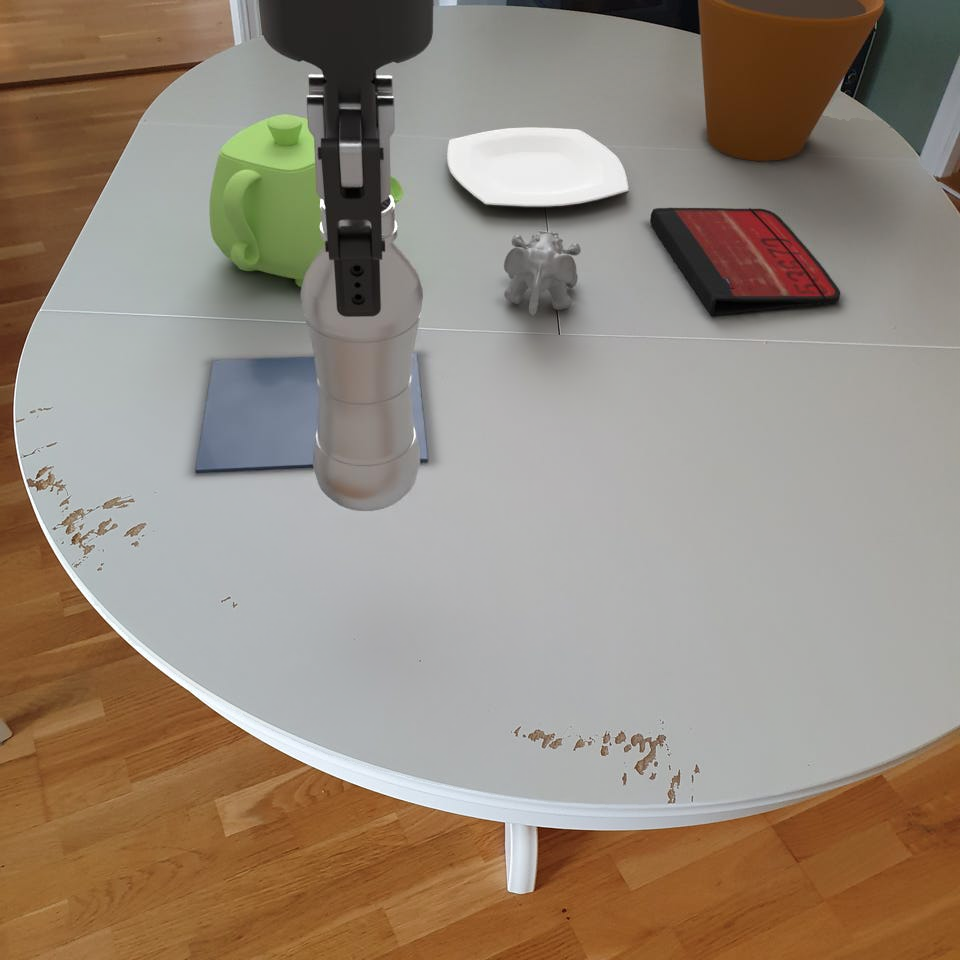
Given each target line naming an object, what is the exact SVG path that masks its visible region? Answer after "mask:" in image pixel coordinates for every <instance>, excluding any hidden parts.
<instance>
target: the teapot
mask: <svg viewBox="0 0 960 960" xmlns="http://www.w3.org/2000/svg"><path fill="white" fill-rule="evenodd" d="M213 173H214V174H213V179H212V182H211V188H210V196H209V227H210V234H211V238H212V240H213V242H214V243H215V246H217V248H218V249H219V250H220V251H221V253H222V254H223V255H224V256H225V257H226V258H227V259H228V260H230V261H232V262H233V264H234V265H236V266H237V268H238V269H240V270H242V271H245V272H254V271H258V272H264V273H266V274H271V275H275V276H279V277H283V278H288V279H294V280H295V285H297V286H298V287H299V288H302V284H303V280H304V276H305V274H306V272H307V270H308V268H309V266H310V265H311V263H312V261H313V260H314V258H315V257H316V255H317V254H318V253H319V251H320V250H321V249H322V248H323V246H324V245H325V241H324V240H323V239H322V237H321V233H320V223H321V222H322V221H321V210H320V203H321V198H320V197H319V196H318V194H317V190H316V169H315V149H314V137H313V135H312V134H311V133H310V132H309V129H308V120H307V118H306V117H301V116H297V115H293V114H277V115H274V116H271V117H268V118H264V119H261V120H260V121H257V122H255V123H253V124H252V125H249V126H247V127H245V128H244V129H242V130H240V131H239V132H238V133H236V134H235V135H233V136H232V137H231V138H229V139H228V140H227V141H226V142H225V143H224V144H223V146H222V147H221V148H220V150H219V153H218V157H217V160H216V164H215V169H214V172H213ZM390 176H391V193H390V195H391V196H392V197H393V200H394V205H396V204H397V203H399V201H400V200H401V199H402V198H403V197H404V189H403V187H402V185H401V183H400V181H398V180H397V179H396V177H394V176H392V175H390Z"/></svg>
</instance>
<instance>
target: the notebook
mask: <svg viewBox="0 0 960 960" xmlns="http://www.w3.org/2000/svg"><path fill="white" fill-rule="evenodd" d="M649 221H650V225H651V226H652V227H653V229H654V231H655V232H656V234H657V236H658V237H659V239H660V240H661V243H663V245H664V247H665V248H666V249H667V251H668V253H669V254H670V256H671V257H672V258H673V260H674V262H675V264H676V265H677V266H678V268H679V269H680V271H681V272H682V274H683V276H684V277H685V279H686V280H687V281H688V283H689V284H690V286H691V287H692V288H693V290H694V292H695V293H696V295H697V297H698V299H700V300H701V302H702V304H703V305H704V306H705V308H706V309H707V311H708V313H709V314H710V316H713V317H715V316H722V315H723V316H724V315H729V314H738V313H746V312H747V313H748V312H757V311H766V310H775V309H776V310H777V309H785V308H795V307H805V306H806V307H807V306H818V305H823V306H824V305H826V304H834V303H837V302H838V301H839V300H840V297H841V291H840V289H839V287H838V286H837V285H836V283H835V282H834V281H833V279H832V277H830V274H829V273H828V272H827V271H826V270H825V268H824V267H823V266H822V263H820V262H819V261H818V260H817V258H816V256H814V255H813V254H812V252H811V251H810V250H809V248H808V247H807V246H806V245H805V244H804V243H803V242H802V241H801V239H800V238H799V237H798V236H797V235H796V233H795V232H794V231H793V230H792V229H791V228H790V227H789V226H788V225H787V223H786V222H785V221H784V220H783V219H782V218H781V217H780V216H779V215H777V214H776V213H775V212H773V211H771V210H769V209H765V208H751V207H749V208H731V207H727V208H725V207H658V208H657V207H656V208H653V209H652V211H651V213H650V220H649Z"/></svg>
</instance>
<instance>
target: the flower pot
mask: <svg viewBox="0 0 960 960" xmlns="http://www.w3.org/2000/svg"><path fill="white" fill-rule="evenodd" d="M697 3H698V4H697V5H698V6H697V7H698V19H699V34H700V49H701V63H702V79H703V94H704V110H705V111H704V112H705V125H706V126H705V127H706V138H707V142H708V143H709V144H710V145H711V146H712V148H714V149H715V150H717V151H718V152H720V153H722V154H725V155H727V156H729V157H733V158H735V159H736V158H737V159H740V160H746V161H755V162H774V161H781V160H785V159H788V158H791V157H793V156H795V155H797V154H799V153H800V152H801V151H802V149H803V148H804V146H805V144H806V142H807V141H808V139H809V137H810V136H811V134H812V132H813V130H814V129H815V127H816V125H818V124H817V123H818V122H819V120H820V119H821V117H822V115H823V113H824V112H825V110H826V109H827V107H828V106H829V104H830V102H831V100H832V98H834V95H835V93H836V92H837V90H838V88H839V87H840V85H841V83H842V82H843V80H844V78H845V76H846V74H847V73H848V71H849V69H850V67H852V65H853V63H854V61H855V60H856V58H857V56H858V54H859V53H860V51H861V49H862V48H863V46H864V44H865V42H866V41H867V39H868V37H869V35H870V34H871V32H872V31H873V29H874V28H875V26H876V24H877V22H878V21H879V19H880V17H881V15H882V14H883V12H884V9H885V8H884V7H885V0H697Z"/></svg>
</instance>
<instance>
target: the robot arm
mask: <svg viewBox="0 0 960 960" xmlns="http://www.w3.org/2000/svg"><path fill="white" fill-rule="evenodd" d="M258 6H259V7H258V8H259V16H260V17H259V18H260V27H261V32H262V33H261V34H262V36H263V38H264V40H265V42H266V43H267V44H268V46H269V47H270V48H271V49H272V50H274V51H275V52H276V53H278V54H280V55H282V56H283V57H286V58H288V59H290V60H292V61H295V62H299V63H300V62H305V63H308V64H311V65H312V66H315V67H316V68H318V69H319V70H321V73H322V74H313V73H312V74H308V94H307V95H306V117H307V120H308V129H309V132H310V133H311V134H312V135H313V137H314V149H315V169H316V190H317V194H318V196H319V197H320V198H321V199H322V200H324V201H325V213H326V226H327V241H325V251H326V252H329V260H334V270H335V286H336V302H337V311H338V313H339V314H340V315H342V316H345V317H367V316H376V315H377V314H379V312H380V310H381V294H380V260H382V252H385V240H384V234H382V222H381V203H382V202H383V201H385V200H386V199H388V197H389V196H390V193H391V176H392V175H391V142H390V140H391V137H392V136H393V134H394V132H395V129H396V119H395V96H394V89H393V87H394V85H393V75H380V74H379V75H378V74H377V70H379V69H381V68H383V67H384V66H386V65H389V64H392V63H396V64H400V63H403V62H407V61H410V60H411V59H413V58H415V57H417V56H418V55H420V54H422V52H424V51H425V50H426V49H427V48H428V46H429V45H430V43H431V41H432V39H433V35H434V0H258ZM340 220H368V221H369V222H370V223H371V228H370V226H340Z"/></svg>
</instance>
